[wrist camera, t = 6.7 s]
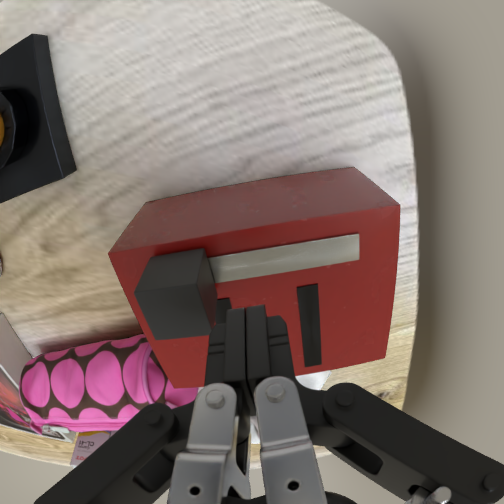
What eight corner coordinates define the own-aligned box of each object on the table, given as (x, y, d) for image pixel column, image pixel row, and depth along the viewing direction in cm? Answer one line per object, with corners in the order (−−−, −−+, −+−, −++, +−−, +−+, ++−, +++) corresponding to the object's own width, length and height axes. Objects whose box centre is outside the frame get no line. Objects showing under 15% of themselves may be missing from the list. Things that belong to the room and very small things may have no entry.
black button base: (-28, 86, 16) (-57, 92, 13) (47, 35, 16) (18, 31, 12) (0, 200, 22) (-25, 217, 19) (77, 170, 22) (51, 186, 18)
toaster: (145, 202, 23) (106, 255, 16) (354, 166, 22) (402, 206, 15) (186, 321, 29) (173, 391, 22) (356, 295, 28) (386, 360, 21)
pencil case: (79, 393, 36) (58, 452, 27) (32, 346, 31) (0, 405, 23) (212, 367, 32) (206, 448, 24) (164, 301, 28) (139, 390, 19)
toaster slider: (149, 256, 16) (132, 292, 13) (204, 247, 16) (196, 283, 13) (167, 301, 17) (155, 341, 15) (218, 294, 17) (213, 335, 15)
